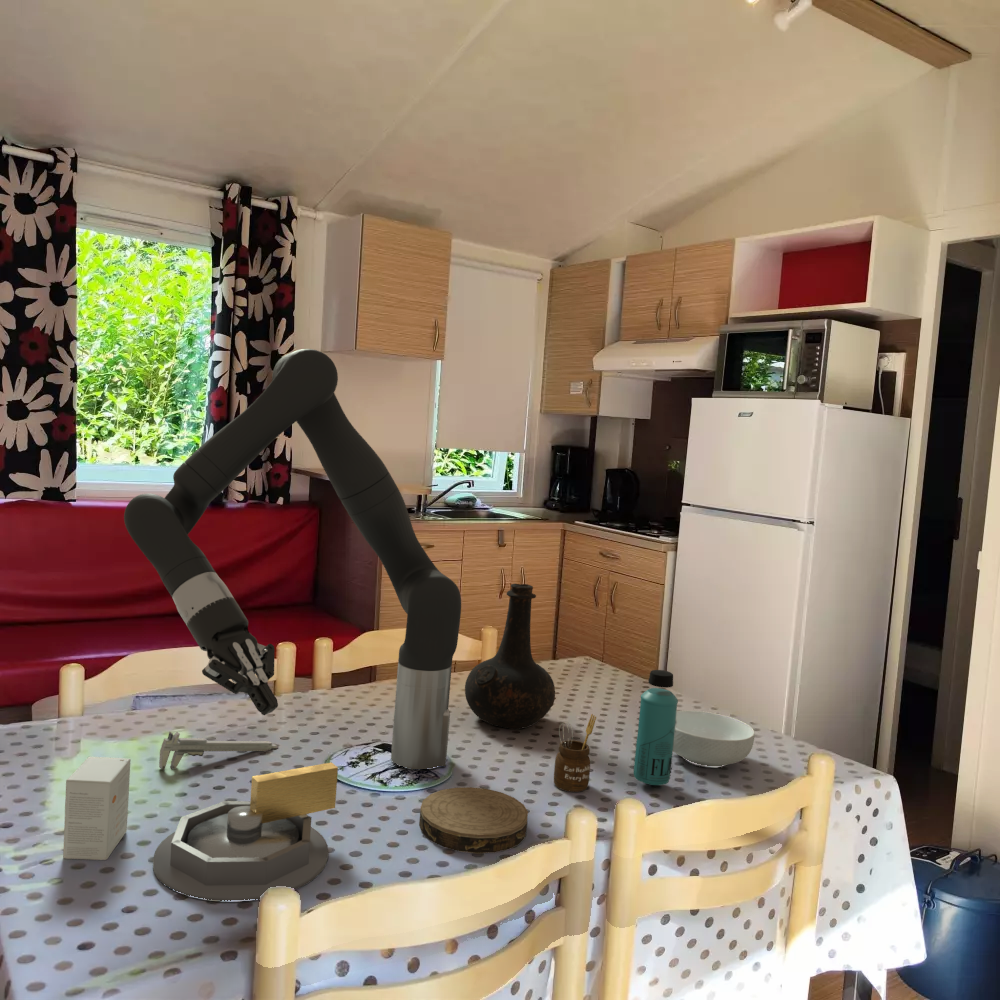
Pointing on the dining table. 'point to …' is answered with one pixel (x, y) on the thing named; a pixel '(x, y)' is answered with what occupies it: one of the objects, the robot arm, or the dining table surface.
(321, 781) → the dial
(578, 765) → the utensil holder
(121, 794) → the small box
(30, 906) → the dining table surface
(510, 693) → the glass bottle
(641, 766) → the beverage bottle
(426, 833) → the wooden log slice
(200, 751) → the caliper
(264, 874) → the dial housing
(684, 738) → the cereal bowl
